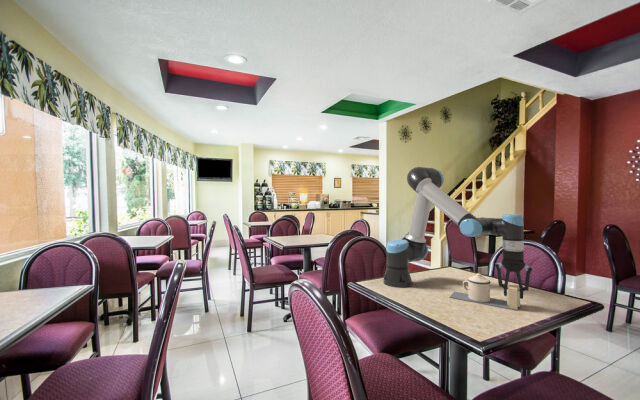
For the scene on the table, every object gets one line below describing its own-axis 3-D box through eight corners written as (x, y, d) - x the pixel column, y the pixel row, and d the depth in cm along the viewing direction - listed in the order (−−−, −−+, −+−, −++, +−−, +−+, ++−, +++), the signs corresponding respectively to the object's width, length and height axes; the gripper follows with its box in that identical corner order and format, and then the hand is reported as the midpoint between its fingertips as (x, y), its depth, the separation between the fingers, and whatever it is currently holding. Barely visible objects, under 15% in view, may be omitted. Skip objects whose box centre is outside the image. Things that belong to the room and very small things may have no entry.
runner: (449, 297, 132) (449, 279, 132) (454, 292, 140) (454, 275, 140) (517, 310, 116) (517, 290, 116) (518, 303, 124) (518, 284, 124)
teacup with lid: (494, 300, 127) (494, 274, 127) (484, 304, 122) (484, 277, 122) (468, 293, 137) (468, 269, 137) (457, 296, 132) (457, 271, 132)
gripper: (489, 249, 123) (490, 303, 123) (536, 253, 113) (537, 311, 113) (492, 247, 129) (492, 298, 129) (536, 250, 119) (537, 306, 119)
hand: (513, 304), depth 121 cm, fingers closed on runner, 3 cm apart
